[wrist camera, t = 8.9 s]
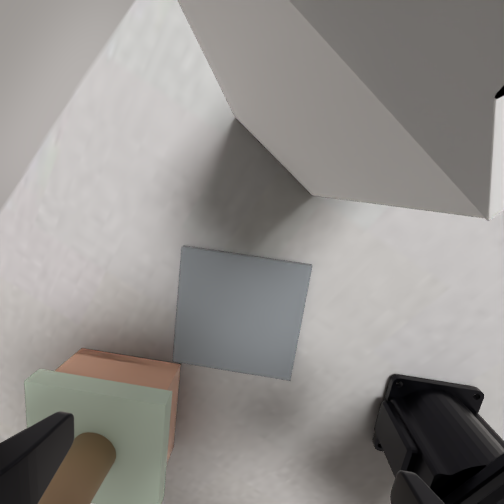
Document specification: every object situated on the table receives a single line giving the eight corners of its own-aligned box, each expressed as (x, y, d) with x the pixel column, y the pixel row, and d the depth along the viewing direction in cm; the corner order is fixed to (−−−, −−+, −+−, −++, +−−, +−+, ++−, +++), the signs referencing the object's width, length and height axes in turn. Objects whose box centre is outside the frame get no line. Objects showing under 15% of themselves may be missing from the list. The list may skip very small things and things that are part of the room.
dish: (180, 364, 21) (163, 397, 18) (173, 446, 23) (156, 490, 20) (81, 348, 22) (46, 377, 18) (82, 430, 24) (50, 471, 20)
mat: (311, 264, 19) (312, 266, 18) (289, 376, 21) (290, 380, 21) (183, 245, 19) (181, 247, 19) (174, 357, 21) (172, 361, 21)
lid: (172, 390, 18) (122, 493, 12) (164, 496, 20) (117, 629, 14) (39, 368, 18) (-75, 457, 12) (45, 474, 20) (-51, 595, 14)
